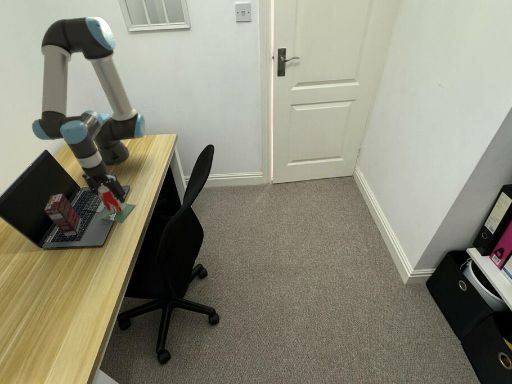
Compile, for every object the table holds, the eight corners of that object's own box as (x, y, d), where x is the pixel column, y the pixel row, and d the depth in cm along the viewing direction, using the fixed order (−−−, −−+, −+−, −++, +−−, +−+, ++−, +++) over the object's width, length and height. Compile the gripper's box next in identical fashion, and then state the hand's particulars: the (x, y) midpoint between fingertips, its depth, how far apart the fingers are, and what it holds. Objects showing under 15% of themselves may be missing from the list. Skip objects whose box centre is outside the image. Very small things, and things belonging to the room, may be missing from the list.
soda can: (120, 215, 116) (108, 194, 108) (104, 213, 117) (92, 192, 109) (128, 203, 121) (118, 182, 113) (114, 201, 122) (102, 181, 114)
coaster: (115, 202, 125) (115, 201, 125) (135, 205, 123) (135, 204, 123) (102, 219, 118) (101, 218, 117) (122, 222, 116) (122, 221, 115)
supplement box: (71, 222, 117) (50, 195, 107) (83, 220, 118) (63, 192, 107) (65, 238, 111) (42, 210, 100) (78, 235, 112) (57, 208, 101)
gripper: (61, 166, 102) (90, 209, 117) (109, 171, 98) (132, 216, 113) (75, 154, 107) (101, 197, 123) (121, 159, 103) (141, 203, 119)
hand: (116, 206), depth 118 cm, fingers closed on soda can, 7 cm apart
